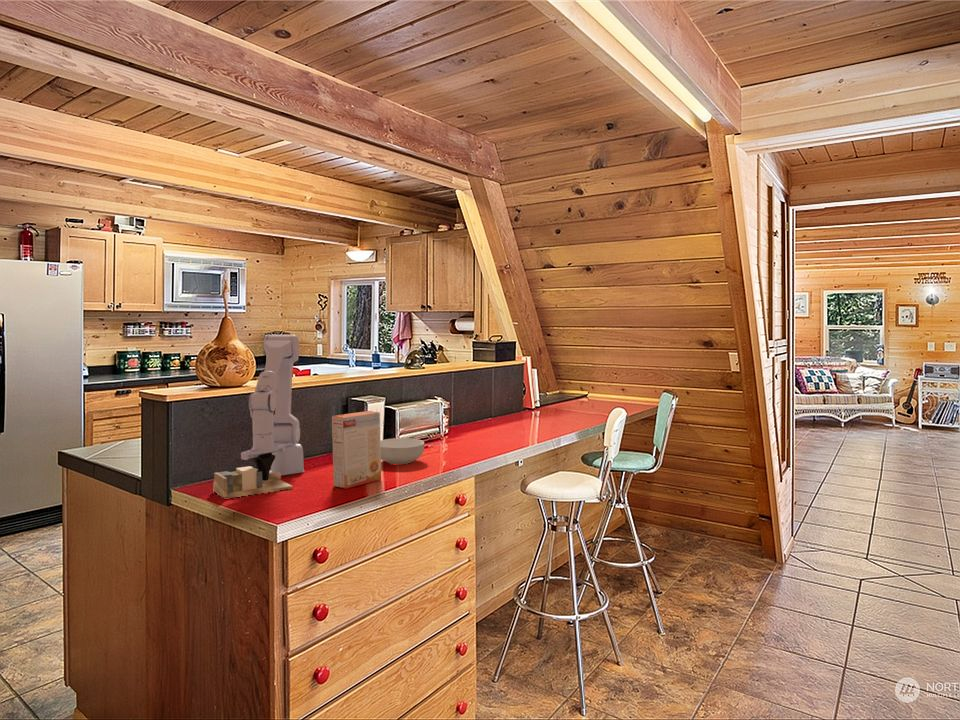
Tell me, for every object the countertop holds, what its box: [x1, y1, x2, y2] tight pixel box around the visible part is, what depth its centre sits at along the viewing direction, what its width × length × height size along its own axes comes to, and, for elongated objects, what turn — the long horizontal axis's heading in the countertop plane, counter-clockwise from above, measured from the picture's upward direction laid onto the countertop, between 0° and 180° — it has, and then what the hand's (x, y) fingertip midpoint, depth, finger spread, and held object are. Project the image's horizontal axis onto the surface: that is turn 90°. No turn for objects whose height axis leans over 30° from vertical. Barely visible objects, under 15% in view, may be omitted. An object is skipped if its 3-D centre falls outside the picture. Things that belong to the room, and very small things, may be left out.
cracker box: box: [331, 410, 382, 490], centre depth 189 cm, size 14×6×21 cm, turn 141°
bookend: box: [254, 467, 263, 488], centre depth 183 cm, size 2×5×4 cm, turn 38°
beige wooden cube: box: [235, 465, 257, 491], centre depth 181 cm, size 4×5×6 cm
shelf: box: [212, 470, 294, 500], centre depth 181 cm, size 19×10×6 cm, turn 129°
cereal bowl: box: [380, 437, 425, 465], centre depth 218 cm, size 17×17×7 cm
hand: (264, 480), depth 184 cm, fingers closed
